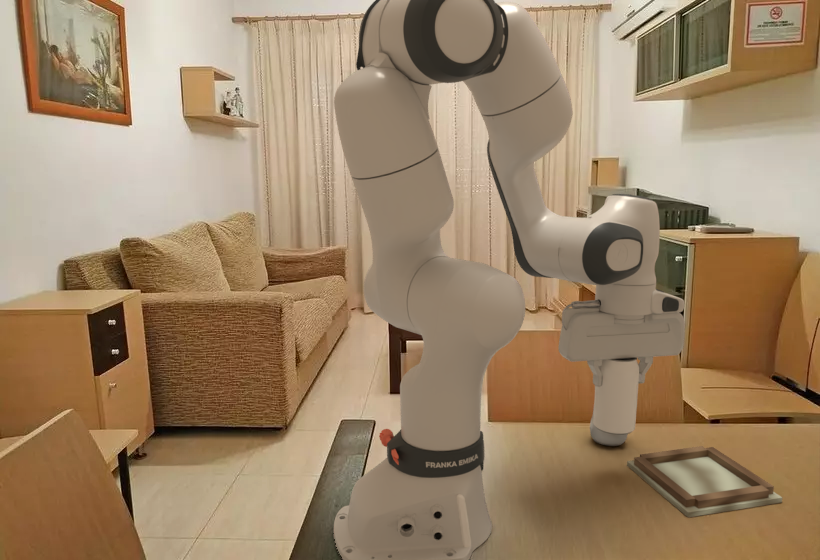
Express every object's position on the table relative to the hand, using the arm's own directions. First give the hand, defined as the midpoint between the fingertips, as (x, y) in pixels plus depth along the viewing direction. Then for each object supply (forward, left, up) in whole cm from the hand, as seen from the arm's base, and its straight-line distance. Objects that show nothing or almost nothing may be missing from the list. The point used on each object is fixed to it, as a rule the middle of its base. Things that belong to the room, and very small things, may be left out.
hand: (618, 383), depth 100 cm
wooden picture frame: (+12, -6, -16) cm, 20 cm away
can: (-1, 0, -8) cm, 8 cm away
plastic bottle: (+5, +11, -16) cm, 20 cm away
